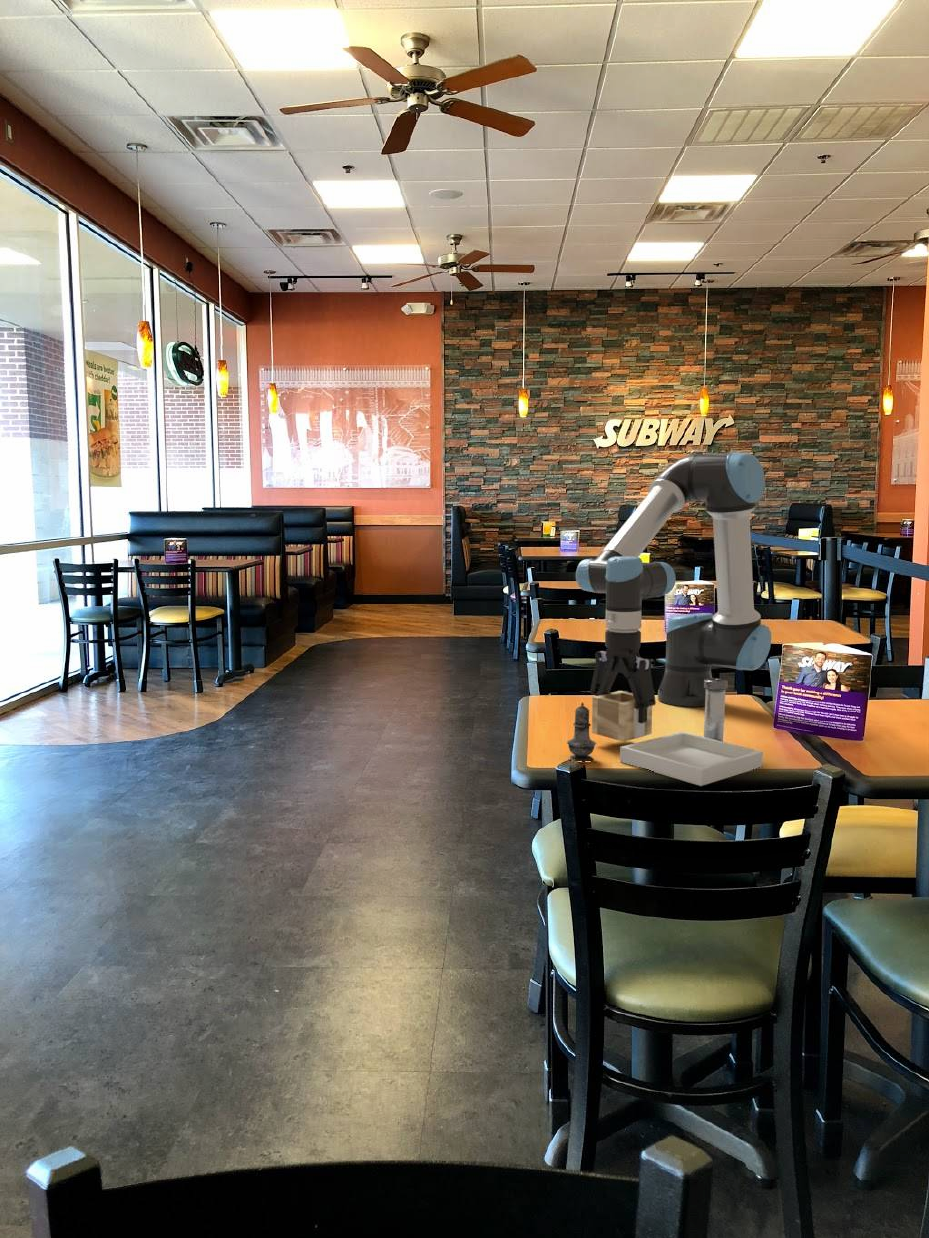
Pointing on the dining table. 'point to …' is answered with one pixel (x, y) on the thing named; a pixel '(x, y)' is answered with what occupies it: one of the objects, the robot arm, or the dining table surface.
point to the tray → (691, 757)
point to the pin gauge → (714, 708)
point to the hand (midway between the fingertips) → (621, 732)
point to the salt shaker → (581, 736)
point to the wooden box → (617, 716)
